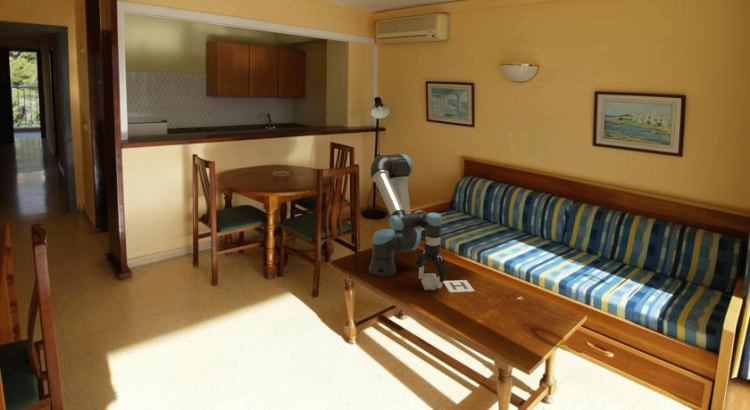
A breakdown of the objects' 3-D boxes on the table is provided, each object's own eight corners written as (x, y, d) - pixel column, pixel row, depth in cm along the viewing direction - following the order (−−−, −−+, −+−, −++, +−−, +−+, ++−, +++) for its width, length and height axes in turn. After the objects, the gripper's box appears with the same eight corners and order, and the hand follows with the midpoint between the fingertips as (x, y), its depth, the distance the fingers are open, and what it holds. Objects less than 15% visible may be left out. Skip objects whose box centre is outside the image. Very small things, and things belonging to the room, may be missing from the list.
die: (433, 295, 245) (444, 278, 246) (418, 286, 246) (429, 269, 247) (431, 294, 254) (441, 277, 255) (416, 284, 254) (426, 268, 255)
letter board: (449, 292, 247) (450, 291, 247) (442, 282, 260) (442, 280, 260) (474, 291, 249) (474, 290, 249) (466, 281, 262) (466, 280, 262)
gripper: (410, 238, 252) (408, 276, 257) (445, 252, 233) (442, 293, 239) (420, 235, 256) (418, 273, 262) (456, 249, 237) (453, 289, 243)
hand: (430, 282), depth 250 cm, fingers open, 13 cm apart
